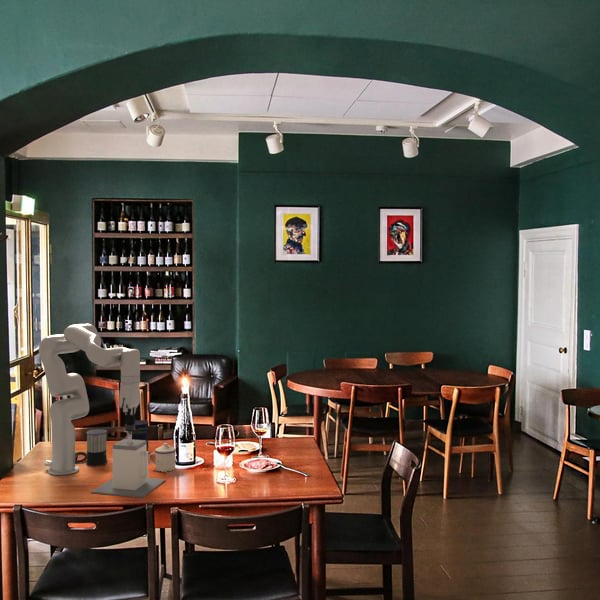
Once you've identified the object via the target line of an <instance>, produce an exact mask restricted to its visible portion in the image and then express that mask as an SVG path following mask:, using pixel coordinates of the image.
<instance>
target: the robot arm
mask: <svg viewBox="0 0 600 600" xmlns="http://www.w3.org/2000/svg"><path fill="white" fill-rule="evenodd" d="M98 333H99V332H98V330H97V328H96V327H95V326H94V325H93V324H91V323H78V324H71V325H68V326H67V327H66V328H65V329H64V330H63V333H61V334H51V335H48V336H45V337H44V338H43V339H41V341H40V343H39V346H38V354H39V358H40V360H41V363H42V366H43V370H44V373H45V374H44V375H45V377H46V383H47V387H48V388H47V389H48V392H49V394H50V395H51V396H52V397H54V398H59V397H61V398H62V397H66V396H69V397H67V398H63V399H59V400H55V401H54V402H53V403H51V405H50V406H49V417H50V421H51V437H52V439H51V442H52V443H51V444H52V445H51V460H49V459H46V460H45V462H44V466H45V467H49V468H48V470H47V472H48V474H49V475H52V476H65V475H66V476H68V475H72V474H75V473H77V472H79V469H80V468H79V466H78V465H76V463H75V453H76V429H75V425H74V424H73V423H72V420H77V419H80V418H83V417H85V416H87V415H88V414H89V412H90V402H89V398H88V393H87V388H86V384H85V380H84V378H83V377H82V376H81V375H80V374H78V373H75V372H71V373H67V369H66V366H65V365H66V364H65V362H64V361H63V359H62V358H61V357H60V356H58V355H60V354H69V353H76V352H79V351H80V350H82V351H83V352H85V355H86V357H87V359H88V360H89V361H90V362H92V363H93V364H94V365H97V366H99V367H102V368H111V367H119V366H120V387H119V398H118V407H119V409H122V412H123V413H124V414H125V424H126V425H133V424H135V420H136V411H137V408H138V406H139V405H140V402H141V391H140V390H141V389H140V383H141V353H140V350H139V349H137V348H127V347H124V346H120V347H119V346H118V347H110V348H103V347H101V346H102V338H101V336H100V335H99V334H98Z"/></svg>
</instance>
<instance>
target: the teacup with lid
mask: <svg viewBox="0 0 600 600" xmlns="http://www.w3.org/2000/svg"><path fill="white" fill-rule="evenodd" d="M176 451H177V449H176V447H173V446H171V445H170V444H168V443H167V442H163V444H162V445H161V446H159V447H156V448H155V449H154V452H151V453H150V454H148V462H150V464H153V465H155V471H157V472H160V471H161V472H163V473H167V471H169V472H172V470H173V471H174V470H175V469H176ZM152 455H154V456H155V461H153V459H151V456H152Z"/></svg>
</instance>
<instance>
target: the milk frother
mask: <svg viewBox="0 0 600 600" xmlns="http://www.w3.org/2000/svg"><path fill="white" fill-rule="evenodd" d="M107 433H108V430H107V429H103V428H102V429H101V428H100V429H99V428H97V429H94V428H93V429H89V430H87V431H86V452H84V451H78V452H75V464H76V463H77V464H79V463H83V462H85V461H86V462H85V464H86V465H87V466H90V467H97V466H98V465H99V466H103V465H106V464H107V463H108V461H107V458H108V457H107ZM79 456H83V458H82V459H78V458H79ZM99 466H98V467H99Z"/></svg>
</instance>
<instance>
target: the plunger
mask: <svg viewBox="0 0 600 600" xmlns="http://www.w3.org/2000/svg"><path fill="white" fill-rule="evenodd" d="M134 430H135V424H133V425H126V423H125V424H124V431H125V432H127V436H128V437H127V439H128V443H132V431H134Z"/></svg>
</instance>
